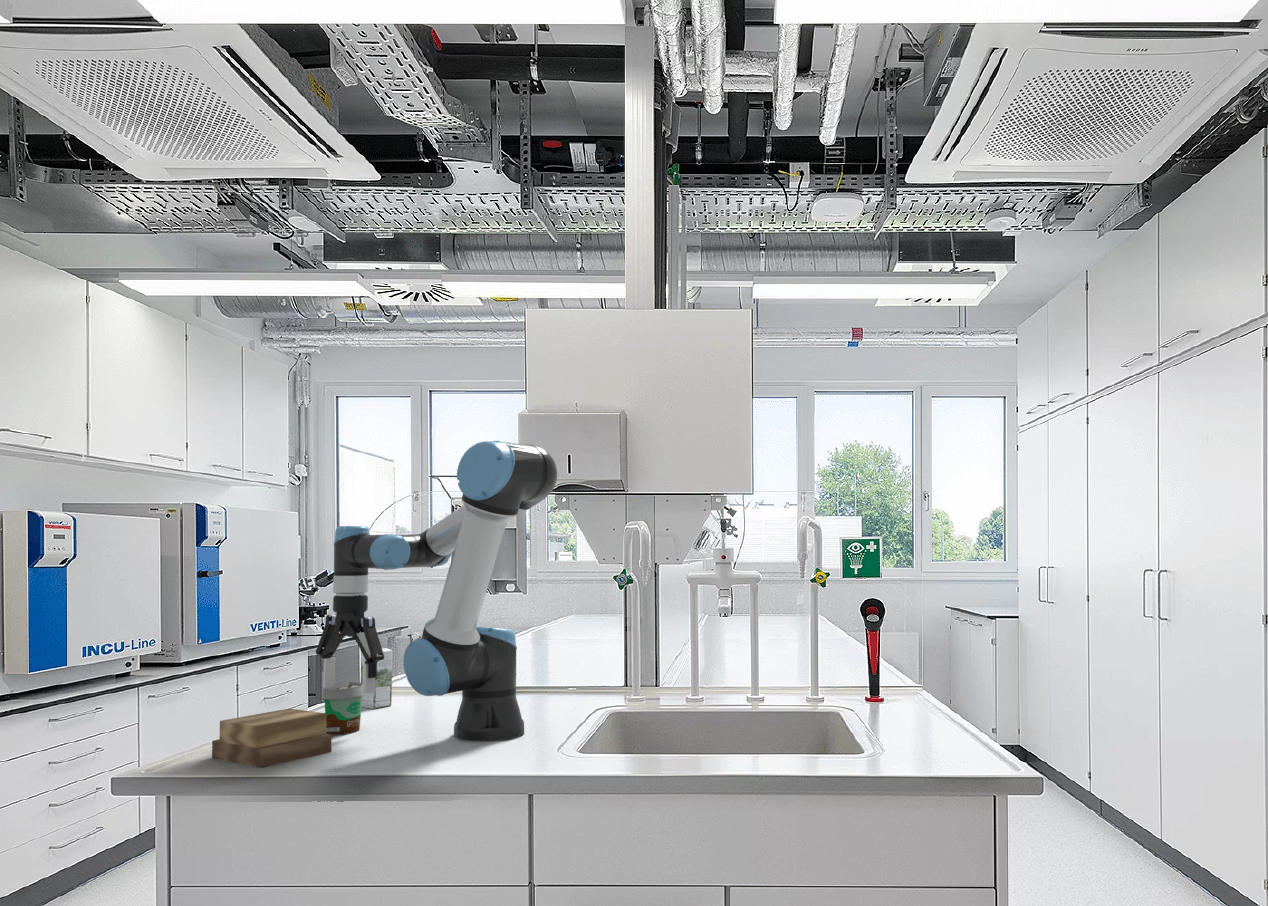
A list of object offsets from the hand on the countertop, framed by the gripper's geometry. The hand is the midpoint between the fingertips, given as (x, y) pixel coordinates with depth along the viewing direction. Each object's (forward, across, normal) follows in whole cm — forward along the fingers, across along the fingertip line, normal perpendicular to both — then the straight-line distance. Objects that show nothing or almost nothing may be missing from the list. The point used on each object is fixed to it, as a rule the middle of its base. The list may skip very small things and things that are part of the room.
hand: (348, 690), depth 219 cm
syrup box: (+10, +20, -25) cm, 33 cm away
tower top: (+6, -6, +24) cm, 25 cm away
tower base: (+10, -7, +24) cm, 27 cm away
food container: (+9, 0, 0) cm, 9 cm away
